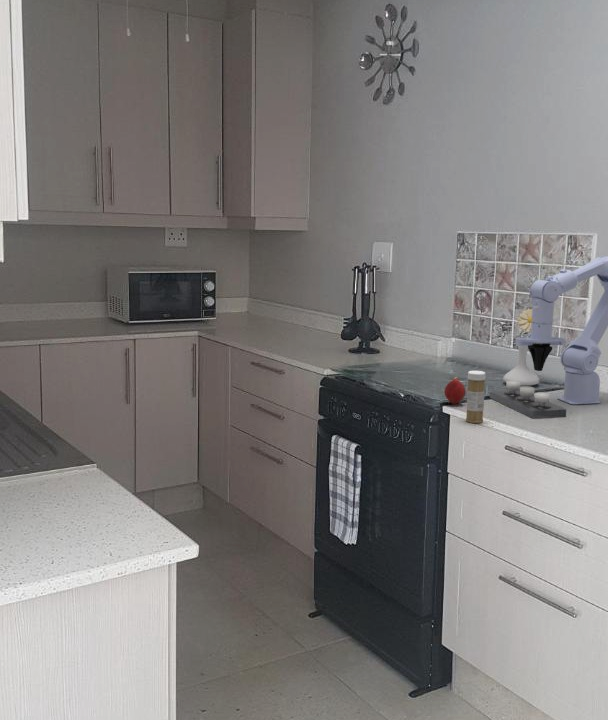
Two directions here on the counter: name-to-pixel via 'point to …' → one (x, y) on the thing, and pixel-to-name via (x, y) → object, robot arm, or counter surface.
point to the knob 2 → (541, 398)
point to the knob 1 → (513, 386)
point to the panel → (527, 405)
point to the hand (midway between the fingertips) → (538, 370)
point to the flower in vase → (523, 356)
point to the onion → (455, 391)
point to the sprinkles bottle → (475, 396)
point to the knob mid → (527, 392)
